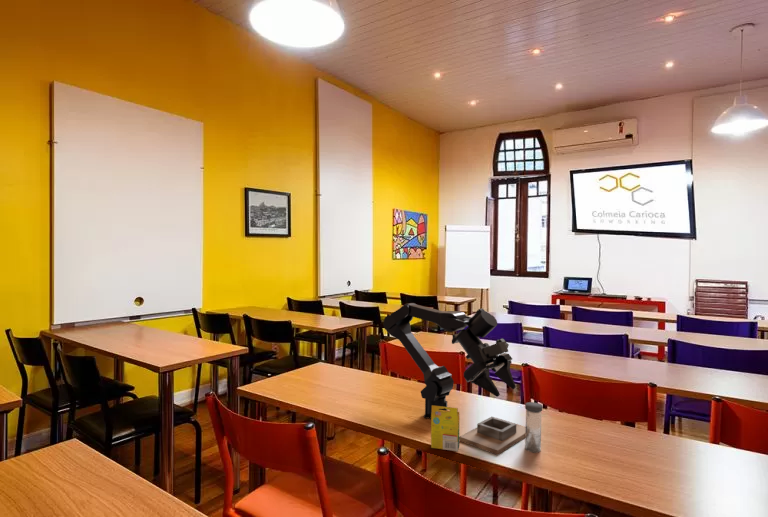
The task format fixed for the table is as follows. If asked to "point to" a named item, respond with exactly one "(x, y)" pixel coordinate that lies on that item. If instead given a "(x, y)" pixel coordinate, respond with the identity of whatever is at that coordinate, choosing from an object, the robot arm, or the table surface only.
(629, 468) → the table surface
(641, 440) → the table surface
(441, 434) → the crayon box
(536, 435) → the capped glass jar
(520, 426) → the docking board
